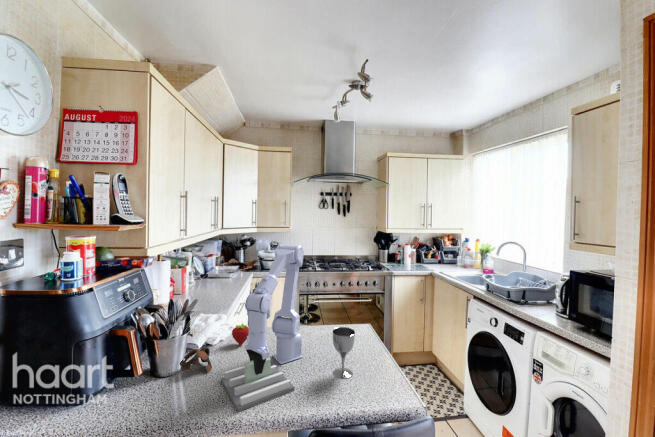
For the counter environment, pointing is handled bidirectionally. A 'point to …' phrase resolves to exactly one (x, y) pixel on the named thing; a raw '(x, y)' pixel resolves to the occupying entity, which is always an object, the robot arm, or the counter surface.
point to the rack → (254, 387)
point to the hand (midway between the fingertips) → (257, 371)
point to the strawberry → (240, 333)
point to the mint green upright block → (250, 371)
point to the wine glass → (343, 349)
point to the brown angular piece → (196, 359)
